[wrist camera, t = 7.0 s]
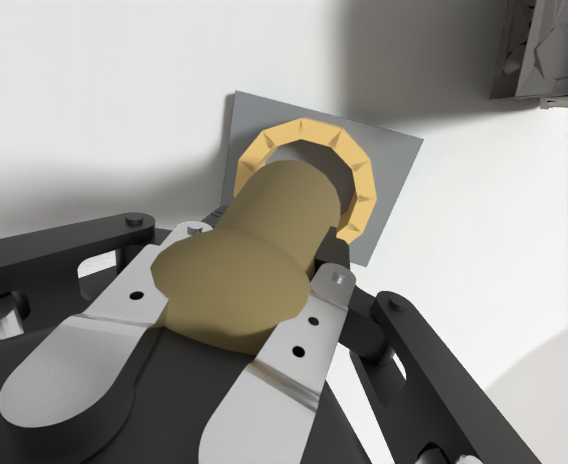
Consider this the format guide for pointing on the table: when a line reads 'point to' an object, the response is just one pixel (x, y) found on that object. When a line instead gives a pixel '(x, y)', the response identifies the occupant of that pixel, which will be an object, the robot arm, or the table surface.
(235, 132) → the collar plate
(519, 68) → the electrical switch
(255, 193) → the cork
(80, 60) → the table surface
